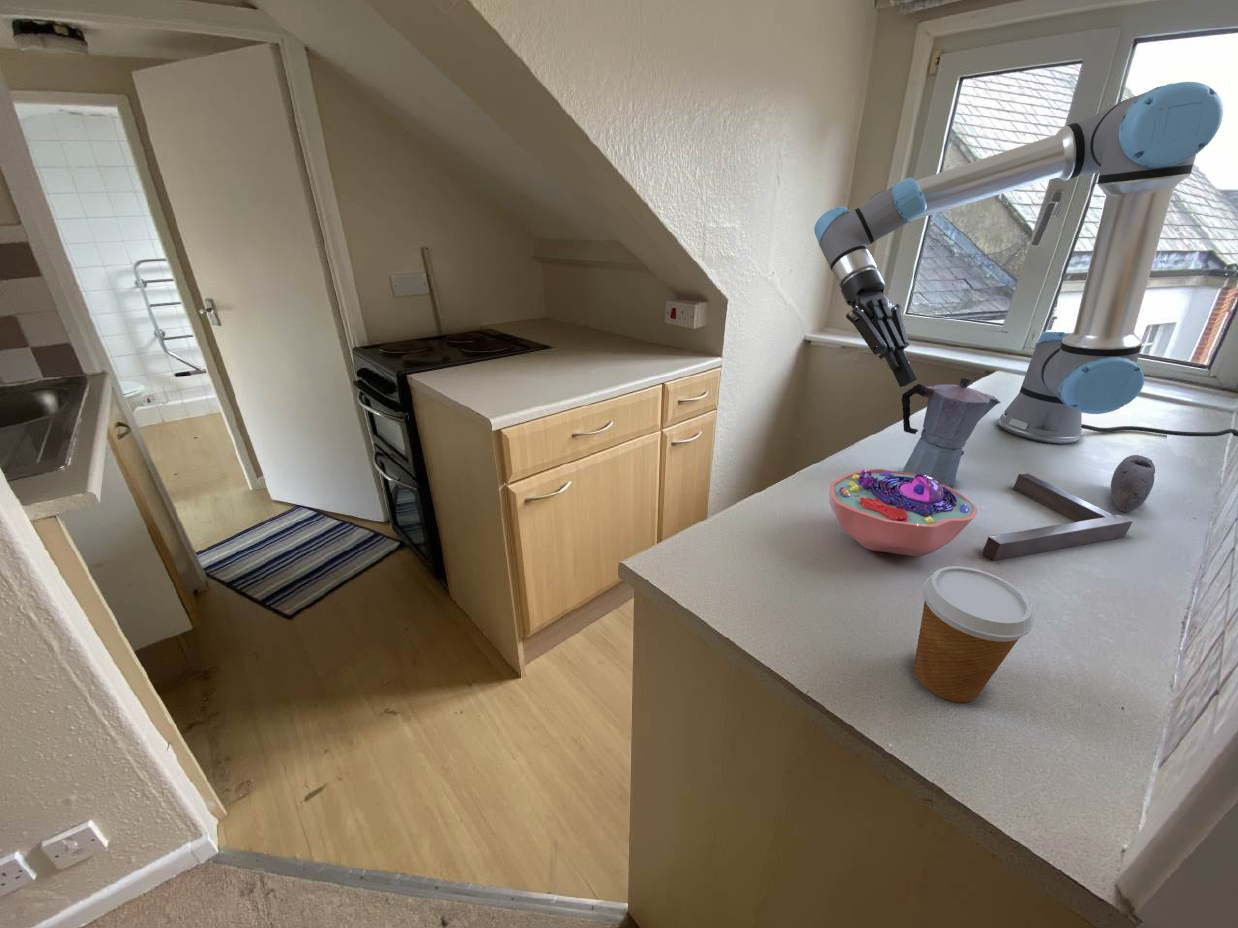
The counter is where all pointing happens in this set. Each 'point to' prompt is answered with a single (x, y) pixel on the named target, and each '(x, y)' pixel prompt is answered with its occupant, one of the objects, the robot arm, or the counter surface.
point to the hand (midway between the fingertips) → (908, 383)
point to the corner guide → (1085, 530)
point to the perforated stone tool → (1132, 482)
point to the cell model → (899, 511)
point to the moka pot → (944, 427)
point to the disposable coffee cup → (967, 630)
